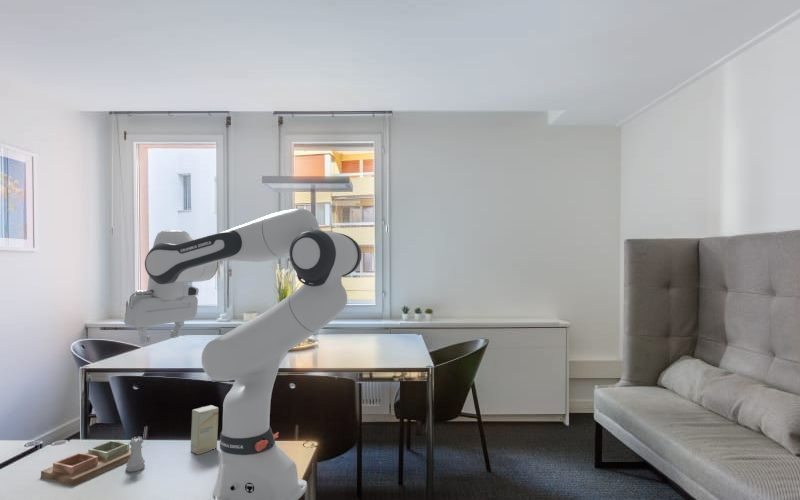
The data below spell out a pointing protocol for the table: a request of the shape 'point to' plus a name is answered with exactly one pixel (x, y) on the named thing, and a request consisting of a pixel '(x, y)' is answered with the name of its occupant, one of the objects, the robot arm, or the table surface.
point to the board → (88, 463)
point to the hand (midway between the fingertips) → (160, 339)
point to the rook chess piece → (135, 456)
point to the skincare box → (204, 429)
